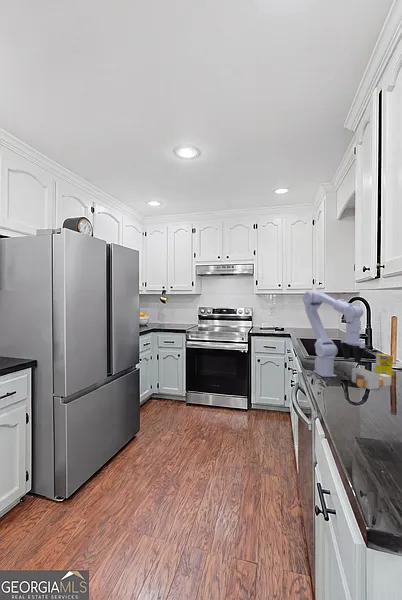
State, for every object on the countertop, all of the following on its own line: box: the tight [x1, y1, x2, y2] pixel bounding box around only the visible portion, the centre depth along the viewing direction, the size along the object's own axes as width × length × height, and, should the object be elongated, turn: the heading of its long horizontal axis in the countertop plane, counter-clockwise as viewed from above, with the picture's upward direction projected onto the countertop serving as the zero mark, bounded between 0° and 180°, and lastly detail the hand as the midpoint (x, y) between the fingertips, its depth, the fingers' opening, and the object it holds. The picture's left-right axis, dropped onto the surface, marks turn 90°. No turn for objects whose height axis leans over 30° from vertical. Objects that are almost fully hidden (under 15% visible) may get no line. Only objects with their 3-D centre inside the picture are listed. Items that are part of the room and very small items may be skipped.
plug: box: [356, 374, 393, 388], centre depth 141 cm, size 4×17×4 cm, turn 106°
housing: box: [351, 367, 380, 390], centre depth 141 cm, size 12×5×6 cm, turn 10°
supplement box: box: [374, 353, 394, 379], centre depth 158 cm, size 6×6×11 cm
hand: (351, 360), depth 143 cm, fingers open, 7 cm apart
